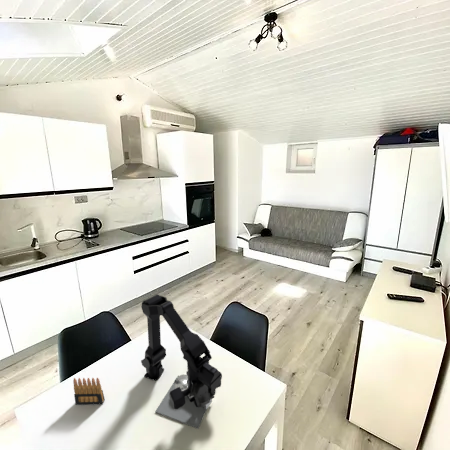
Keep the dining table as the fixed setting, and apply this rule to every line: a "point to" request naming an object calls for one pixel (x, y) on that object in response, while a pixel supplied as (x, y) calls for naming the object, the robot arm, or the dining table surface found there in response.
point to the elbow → (185, 386)
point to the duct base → (181, 411)
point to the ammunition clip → (88, 392)
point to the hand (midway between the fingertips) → (196, 406)
